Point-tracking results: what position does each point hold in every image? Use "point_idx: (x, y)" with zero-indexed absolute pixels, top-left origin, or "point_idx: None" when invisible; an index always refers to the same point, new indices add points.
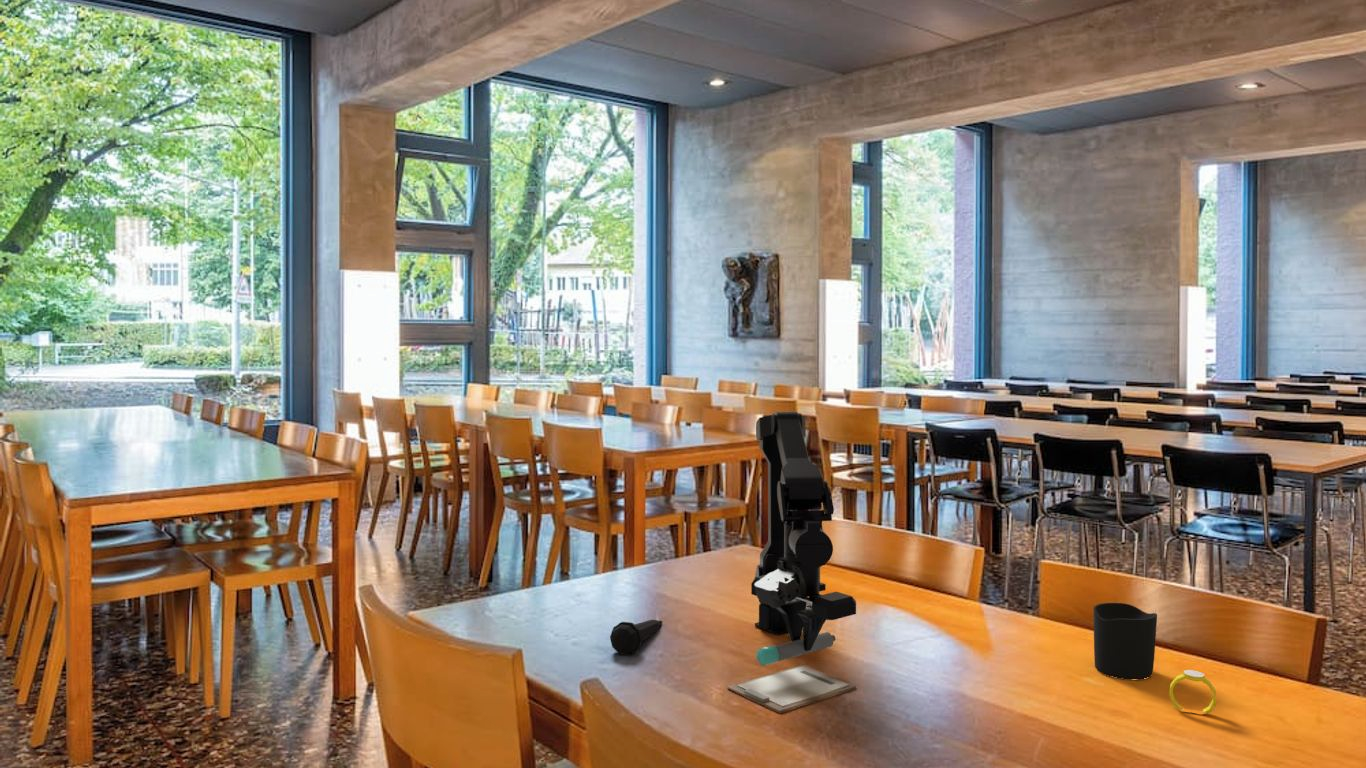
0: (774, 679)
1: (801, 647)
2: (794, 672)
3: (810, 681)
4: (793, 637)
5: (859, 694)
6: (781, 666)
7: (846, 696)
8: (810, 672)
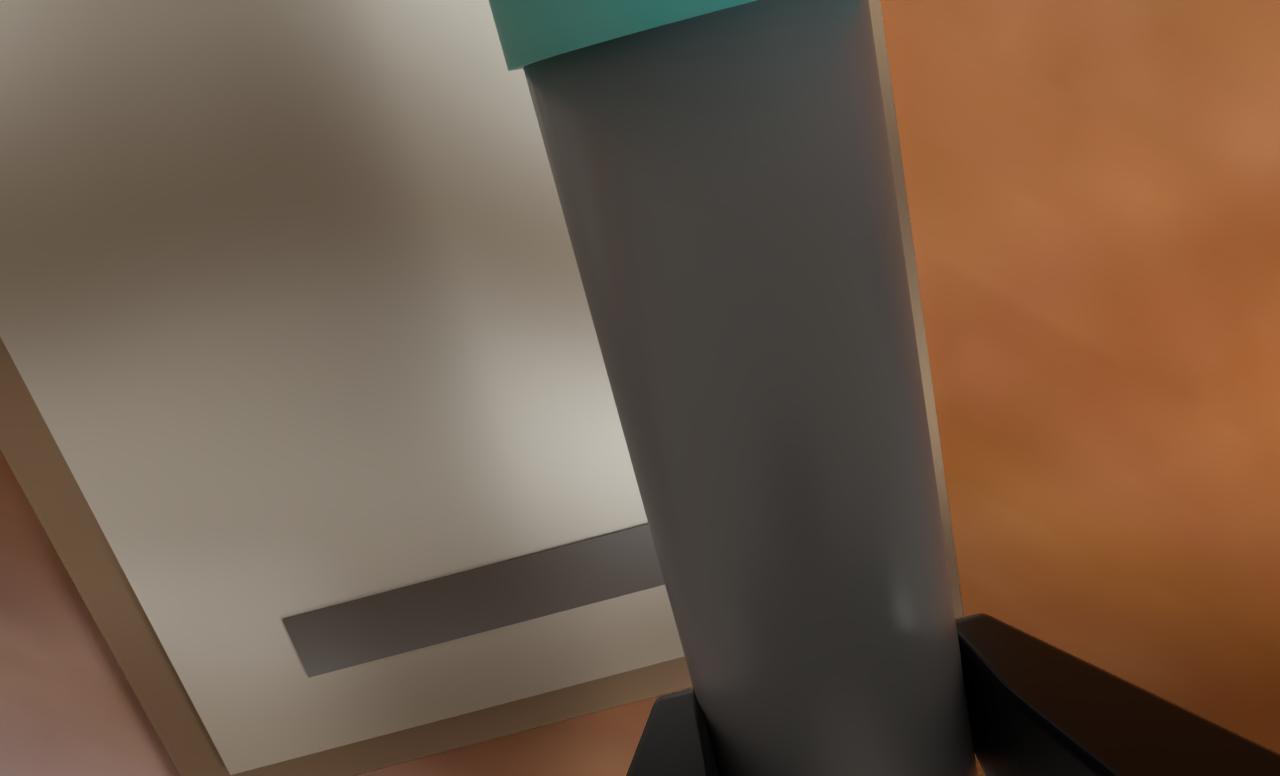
0: None
1: (698, 669)
2: None
3: (452, 467)
4: (1018, 714)
5: (59, 761)
6: (1091, 421)
7: (33, 635)
8: None
